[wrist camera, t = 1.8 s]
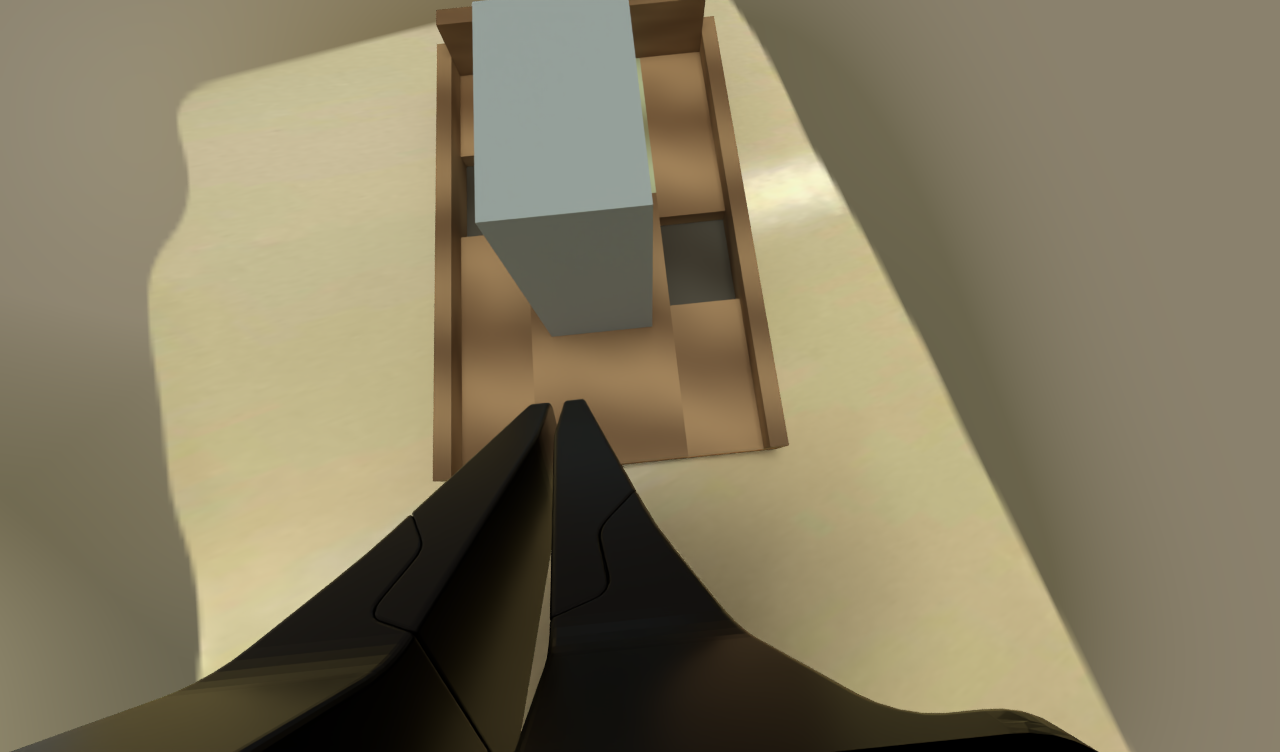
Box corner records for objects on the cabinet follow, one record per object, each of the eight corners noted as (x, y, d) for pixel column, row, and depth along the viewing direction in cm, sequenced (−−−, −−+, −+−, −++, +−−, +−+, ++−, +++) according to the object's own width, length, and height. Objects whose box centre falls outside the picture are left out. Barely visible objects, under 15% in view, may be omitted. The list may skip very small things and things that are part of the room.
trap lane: (775, 449, 22) (802, 441, 18) (454, 481, 22) (411, 481, 18) (708, 52, 27) (718, -19, 23) (453, 78, 27) (421, 11, 23)
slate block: (652, 326, 22) (652, 204, 13) (551, 336, 22) (475, 222, 13) (636, 186, 24) (626, -14, 14) (544, 195, 24) (472, 1, 14)
